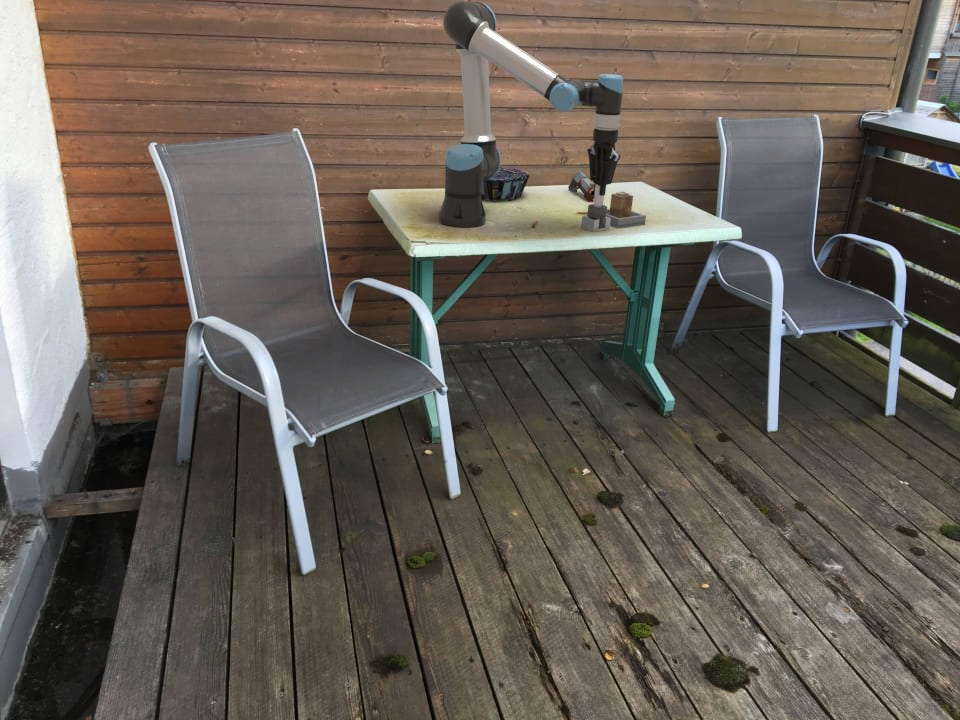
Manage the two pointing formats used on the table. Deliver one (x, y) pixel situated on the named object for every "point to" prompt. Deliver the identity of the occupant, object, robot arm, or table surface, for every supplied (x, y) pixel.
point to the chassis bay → (627, 220)
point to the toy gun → (582, 185)
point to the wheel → (597, 211)
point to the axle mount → (595, 223)
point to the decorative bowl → (504, 185)
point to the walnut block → (621, 205)
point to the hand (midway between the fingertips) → (598, 204)
